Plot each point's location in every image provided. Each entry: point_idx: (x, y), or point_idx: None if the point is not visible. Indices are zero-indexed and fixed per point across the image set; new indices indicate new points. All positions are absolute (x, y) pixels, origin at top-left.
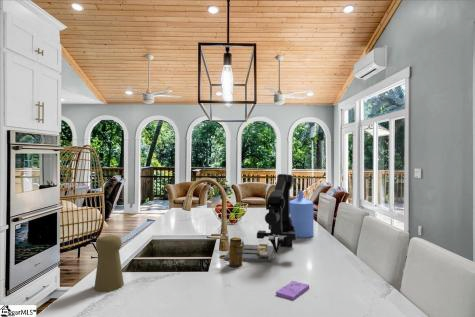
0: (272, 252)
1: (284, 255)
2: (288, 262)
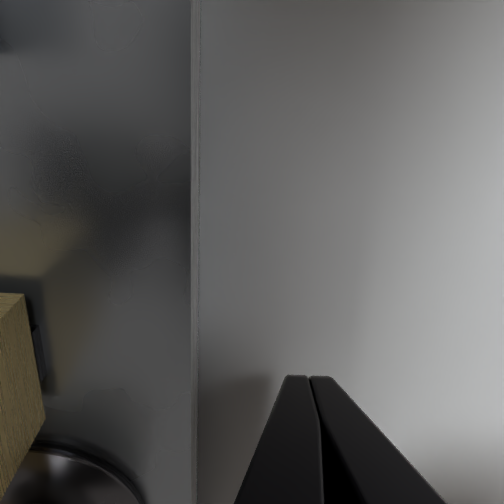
0: (189, 193)
1: (496, 130)
2: (477, 495)
